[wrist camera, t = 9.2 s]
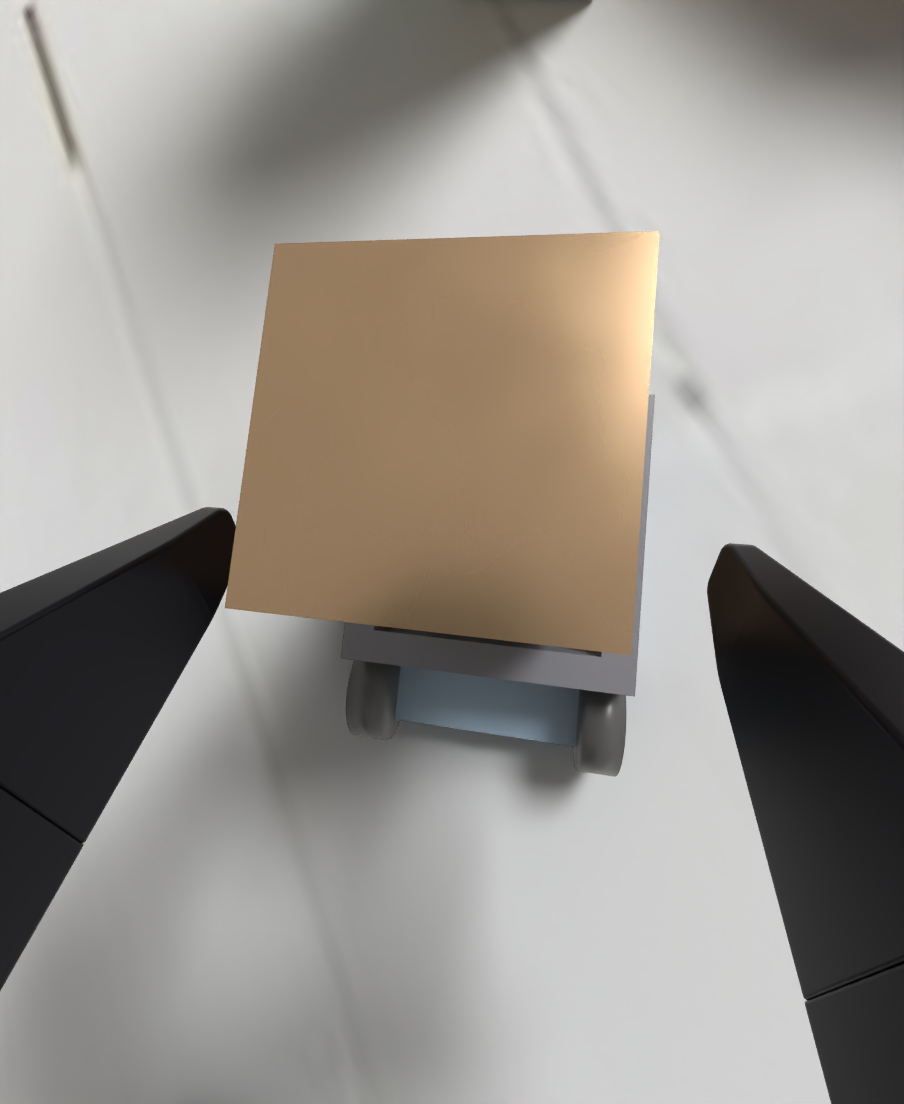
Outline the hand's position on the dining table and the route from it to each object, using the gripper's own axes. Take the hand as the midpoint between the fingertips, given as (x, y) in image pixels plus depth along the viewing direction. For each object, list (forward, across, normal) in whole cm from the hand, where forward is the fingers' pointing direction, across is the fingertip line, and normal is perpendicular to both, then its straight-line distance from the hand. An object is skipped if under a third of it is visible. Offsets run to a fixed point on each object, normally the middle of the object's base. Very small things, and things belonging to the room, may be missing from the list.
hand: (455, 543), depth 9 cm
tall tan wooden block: (+7, 0, +6) cm, 9 cm away
